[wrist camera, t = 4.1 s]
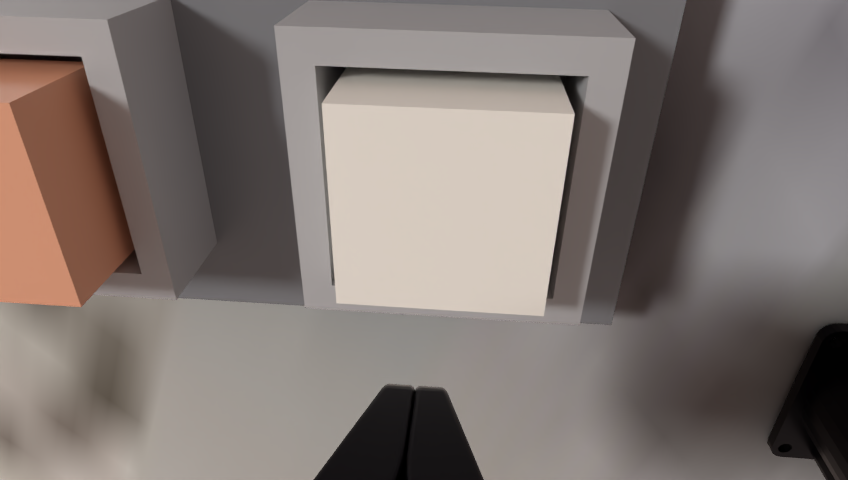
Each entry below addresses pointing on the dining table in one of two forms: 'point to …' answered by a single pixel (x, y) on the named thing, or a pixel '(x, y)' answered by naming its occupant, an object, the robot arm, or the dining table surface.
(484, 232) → the key ivory
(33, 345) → the dining table surface
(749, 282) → the dining table surface
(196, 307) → the dining table surface
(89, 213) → the key terracotta
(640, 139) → the key panel
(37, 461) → the dining table surface
